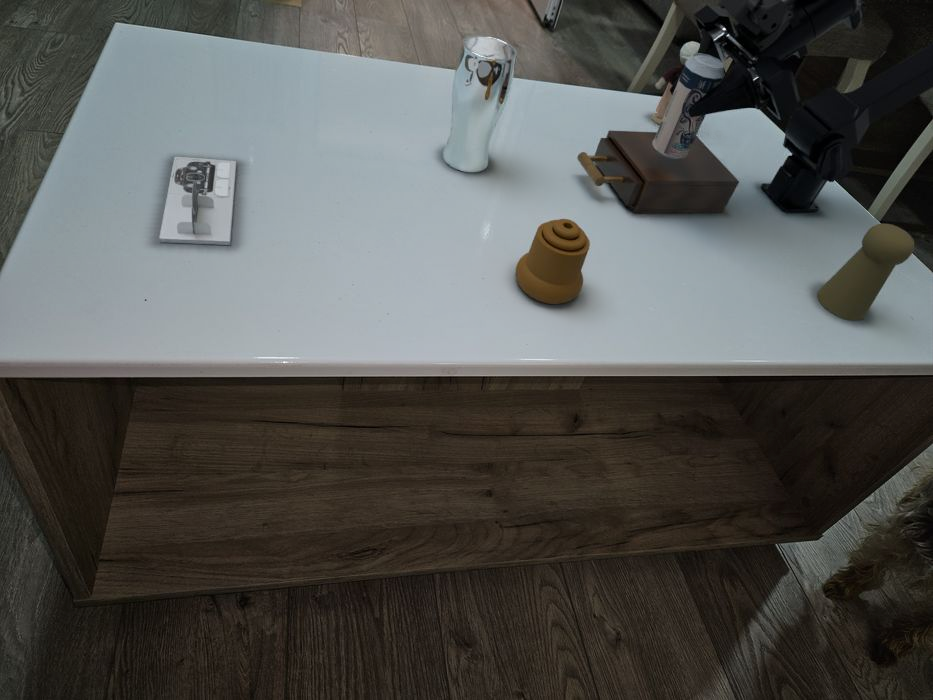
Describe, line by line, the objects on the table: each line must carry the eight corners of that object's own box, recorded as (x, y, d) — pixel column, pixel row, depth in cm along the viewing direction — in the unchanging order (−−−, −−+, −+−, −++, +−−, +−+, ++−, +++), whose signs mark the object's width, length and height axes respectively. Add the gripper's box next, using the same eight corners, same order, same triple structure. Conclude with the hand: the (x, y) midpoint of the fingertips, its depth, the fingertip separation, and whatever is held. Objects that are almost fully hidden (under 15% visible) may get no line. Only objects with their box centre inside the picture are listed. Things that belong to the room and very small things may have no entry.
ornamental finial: (501, 285, 74) (531, 254, 79) (562, 318, 72) (589, 284, 77) (519, 225, 68) (551, 195, 74) (586, 258, 67) (613, 226, 72)
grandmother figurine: (672, 113, 114) (706, 37, 106) (686, 125, 112) (721, 48, 103) (636, 115, 111) (668, 36, 102) (650, 127, 109) (683, 48, 100)
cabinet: (634, 213, 90) (648, 180, 86) (596, 162, 98) (608, 130, 94) (722, 212, 95) (739, 181, 91) (680, 163, 102) (694, 133, 99)
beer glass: (430, 161, 89) (451, 45, 78) (451, 140, 94) (474, 28, 83) (479, 181, 88) (507, 66, 77) (498, 158, 93) (526, 48, 82)
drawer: (598, 206, 88) (607, 183, 86) (566, 158, 95) (573, 136, 92) (710, 205, 94) (721, 184, 91) (672, 161, 101) (682, 140, 98)
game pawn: (861, 328, 82) (922, 256, 74) (812, 304, 83) (867, 230, 76) (868, 303, 86) (926, 232, 78) (821, 281, 87) (874, 209, 80)
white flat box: (230, 245, 70) (228, 208, 67) (159, 242, 68) (153, 204, 65) (236, 164, 80) (234, 129, 77) (174, 159, 78) (170, 123, 75)
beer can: (670, 164, 87) (711, 72, 78) (643, 145, 89) (680, 53, 81) (693, 157, 89) (736, 67, 81) (667, 139, 92) (705, 49, 83)
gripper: (742, -69, 80) (625, 19, 85) (835, -6, 68) (693, 93, 73) (764, 8, 88) (656, 85, 92) (852, 76, 76) (723, 161, 80)
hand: (679, 103), depth 84 cm, fingers closed on beer can, 5 cm apart
